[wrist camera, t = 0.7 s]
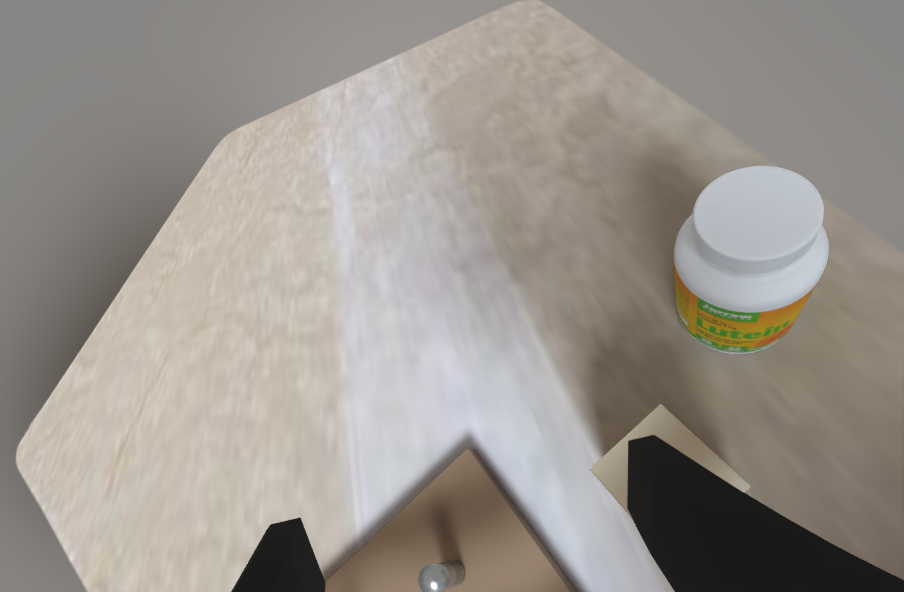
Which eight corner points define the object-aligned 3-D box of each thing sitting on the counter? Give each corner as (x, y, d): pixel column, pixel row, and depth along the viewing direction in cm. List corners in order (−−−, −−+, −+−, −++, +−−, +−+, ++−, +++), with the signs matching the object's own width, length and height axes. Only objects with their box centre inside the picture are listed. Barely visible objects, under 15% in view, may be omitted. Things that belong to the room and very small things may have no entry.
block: (736, 491, 21) (751, 486, 16) (672, 547, 21) (668, 560, 16) (666, 425, 23) (660, 403, 18) (609, 477, 24) (589, 469, 19)
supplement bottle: (682, 358, 24) (680, 287, 16) (670, 269, 26) (664, 167, 18) (805, 353, 22) (873, 267, 14) (782, 256, 24) (829, 133, 16)
